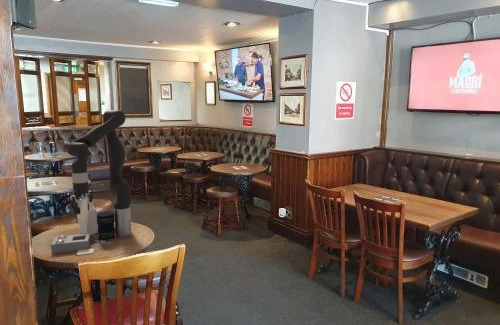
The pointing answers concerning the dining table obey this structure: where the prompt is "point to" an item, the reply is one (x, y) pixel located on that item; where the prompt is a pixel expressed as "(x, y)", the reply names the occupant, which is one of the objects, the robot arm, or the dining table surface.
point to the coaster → (85, 251)
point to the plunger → (62, 237)
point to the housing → (71, 243)
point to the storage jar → (105, 225)
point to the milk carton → (90, 221)
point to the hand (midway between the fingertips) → (82, 212)
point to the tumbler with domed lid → (83, 211)
